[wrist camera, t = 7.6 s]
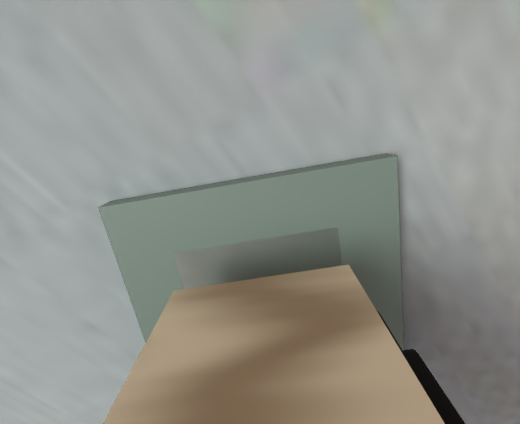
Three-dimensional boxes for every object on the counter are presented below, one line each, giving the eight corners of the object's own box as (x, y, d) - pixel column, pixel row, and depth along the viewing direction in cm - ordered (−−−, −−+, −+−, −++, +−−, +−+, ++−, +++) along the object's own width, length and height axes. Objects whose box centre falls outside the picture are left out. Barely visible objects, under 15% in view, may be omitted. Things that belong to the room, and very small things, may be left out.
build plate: (396, 377, 15) (405, 394, 14) (179, 406, 16) (174, 424, 15) (386, 153, 12) (397, 156, 11) (110, 201, 13) (97, 207, 12)
